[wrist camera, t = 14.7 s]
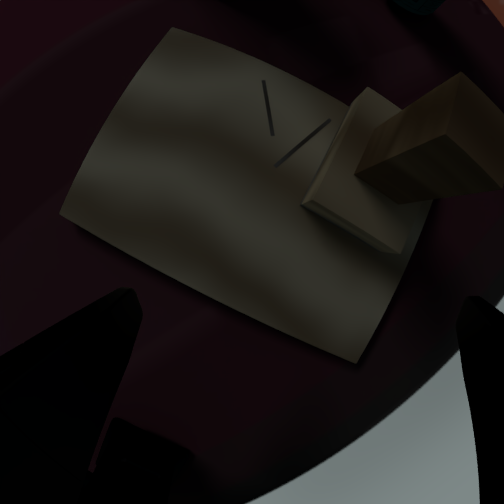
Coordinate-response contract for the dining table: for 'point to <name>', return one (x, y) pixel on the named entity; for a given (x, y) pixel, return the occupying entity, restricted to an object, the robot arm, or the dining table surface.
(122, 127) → the board
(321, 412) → the dining table surface
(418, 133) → the block
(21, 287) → the dining table surface
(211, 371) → the dining table surface
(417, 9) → the beverage bottle
